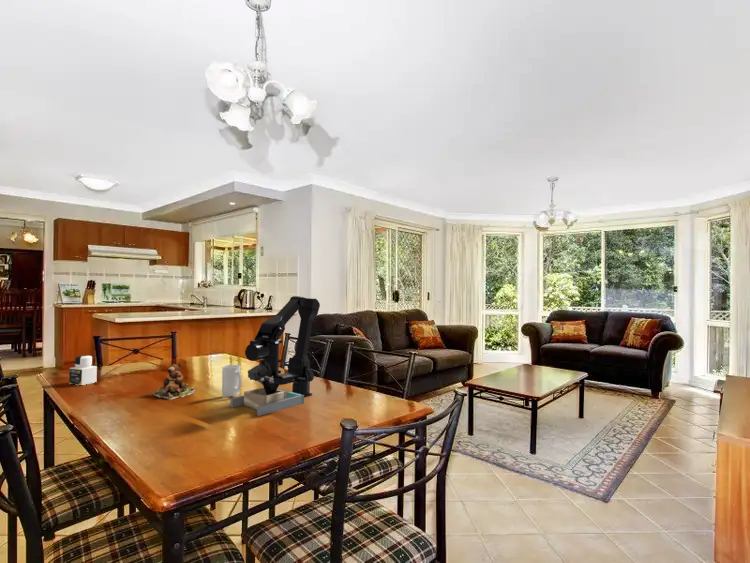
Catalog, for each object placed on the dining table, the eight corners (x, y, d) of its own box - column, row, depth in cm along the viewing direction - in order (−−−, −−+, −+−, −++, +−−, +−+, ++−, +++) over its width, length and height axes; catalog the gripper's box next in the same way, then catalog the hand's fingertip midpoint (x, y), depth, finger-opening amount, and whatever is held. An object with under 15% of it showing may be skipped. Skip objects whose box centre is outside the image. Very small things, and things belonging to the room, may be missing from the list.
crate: (266, 400, 156) (266, 386, 156) (286, 405, 149) (286, 391, 149) (243, 405, 148) (244, 391, 148) (263, 411, 141) (263, 397, 141)
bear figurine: (144, 398, 160) (145, 366, 160) (173, 389, 174) (174, 360, 175) (174, 401, 156) (175, 368, 157) (201, 391, 171) (201, 362, 171)
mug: (218, 397, 162) (218, 366, 163) (233, 393, 168) (234, 364, 168) (232, 402, 156) (233, 370, 156) (247, 398, 161) (248, 367, 161)
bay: (275, 398, 162) (275, 388, 162) (303, 406, 153) (304, 395, 153) (230, 409, 146) (230, 398, 146) (259, 419, 136) (259, 407, 137)
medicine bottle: (68, 384, 178) (69, 356, 178) (84, 381, 184) (85, 354, 185) (81, 386, 176) (82, 357, 176) (96, 382, 182) (97, 355, 182)
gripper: (235, 356, 149) (234, 400, 149) (269, 362, 138) (268, 410, 138) (261, 352, 158) (260, 393, 158) (294, 358, 147) (293, 402, 147)
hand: (269, 399), depth 150 cm, fingers closed, pressing on crate
